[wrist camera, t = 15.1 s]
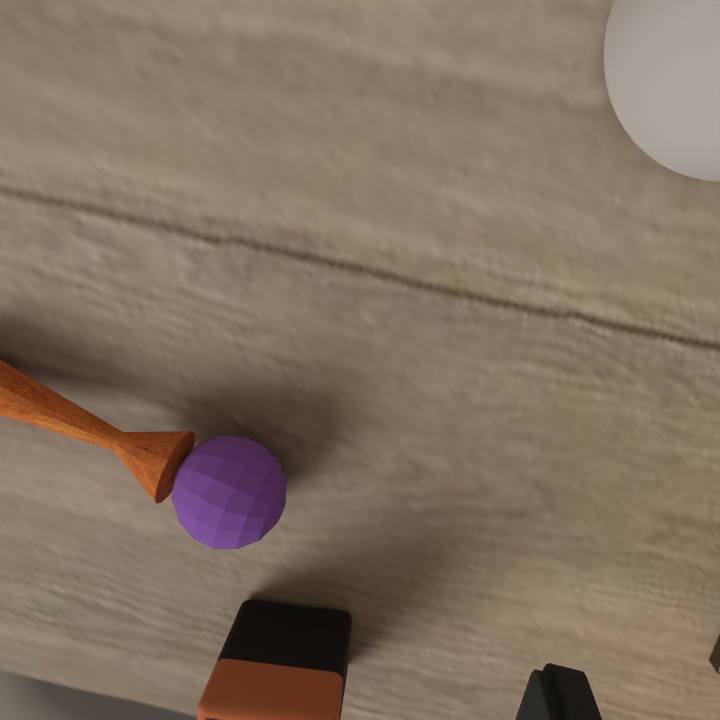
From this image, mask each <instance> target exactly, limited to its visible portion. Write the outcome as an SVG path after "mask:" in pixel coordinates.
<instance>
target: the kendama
mask: <svg viewBox="0 0 720 720" xmlns="http://www.w3.org/2000/svg"><path fill="white" fill-rule="evenodd" d="M0 415H2V416H6V417H9V418H12V419H15V420H18V421H21V422H25V423H28V424H31V425H34V426H37V427H40V428H44V429H47V430H50V431H53V432H56V433H59V434H63V435H66V436H69V437H72V438H75V439H78V440H82V441H85V442H88V443H91V444H94V445H97V446H101V447H104V448H107V449H110V450H113V451H114V452H115V454H116V455H117V456H118V457H119V458H120V460H121V461H122V462H123V463H124V464H125V466H126V467H127V468H128V469H129V471H130V472H131V473H132V474H133V475H134V477H135V478H136V479H137V480H138V482H139V483H140V484H141V485H142V486H143V488H144V489H145V490H146V491H147V492H148V494H149V495H150V496H151V497H152V499H153V500H154V501H155V502H156V503H161V502H162V501H164V500H165V499H166V498H167V497H168V496H169V494H170V493H171V492H172V490H173V492H172V500H173V504H174V507H175V510H176V513H177V516H178V520H179V523H180V524H181V525H182V526H183V527H184V528H185V530H186V531H187V532H188V533H189V534H190V535H191V536H192V538H193V539H194V540H197V541H199V542H201V543H203V544H205V545H208V546H210V547H212V548H214V549H239V548H241V547H244V546H246V545H249V544H251V543H254V542H256V541H259V540H260V539H261V538H262V537H263V536H264V535H265V534H267V533H268V532H269V531H270V530H271V529H272V528H273V527H274V526H275V525H276V524H277V522H278V520H279V518H280V516H281V514H282V512H283V509H284V507H285V500H286V479H285V476H284V474H283V471H282V468H281V465H280V463H279V461H278V460H277V459H276V458H275V456H274V455H273V454H272V453H271V452H270V451H269V450H268V449H267V448H266V447H265V446H264V445H262V444H259V443H257V442H255V441H252V440H250V439H248V438H246V437H241V436H218V437H216V438H213V439H211V440H208V441H206V442H203V443H201V444H199V445H198V446H197V447H195V448H194V449H193V447H194V441H195V434H194V432H191V431H178V432H122V431H120V430H118V429H116V428H115V427H113V426H111V425H110V424H108V423H106V422H105V421H103V420H101V419H100V418H98V417H96V416H94V415H93V414H91V413H89V412H88V411H86V410H84V409H83V408H81V407H79V406H78V405H76V404H74V403H72V402H71V401H69V400H67V399H66V398H64V397H62V396H61V395H59V394H57V393H56V392H54V391H52V390H50V389H49V388H47V387H45V386H44V385H42V384H40V383H39V382H37V381H35V380H34V379H32V378H30V377H28V376H27V375H25V374H23V373H22V372H20V371H18V370H17V369H15V368H13V367H12V366H10V365H8V364H6V363H5V362H3V361H1V360H0Z"/></svg>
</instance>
